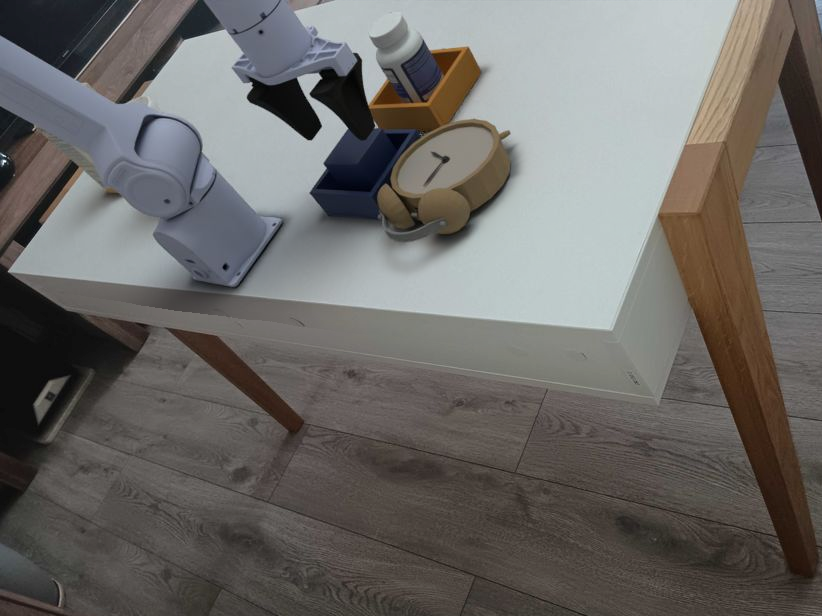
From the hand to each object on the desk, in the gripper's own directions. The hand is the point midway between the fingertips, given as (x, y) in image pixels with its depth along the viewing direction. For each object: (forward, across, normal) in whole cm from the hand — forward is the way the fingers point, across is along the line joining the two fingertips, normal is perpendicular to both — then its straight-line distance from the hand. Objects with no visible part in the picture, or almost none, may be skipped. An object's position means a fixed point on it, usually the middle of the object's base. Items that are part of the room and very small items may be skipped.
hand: (340, 133), depth 74 cm
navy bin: (+7, 0, 0) cm, 7 cm away
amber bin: (+7, 0, -13) cm, 15 cm away
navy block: (+7, 0, 0) cm, 7 cm away
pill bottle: (+7, 0, -13) cm, 14 cm away
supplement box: (+8, +50, 0) cm, 51 cm away
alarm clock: (+7, -11, +1) cm, 13 cm away
